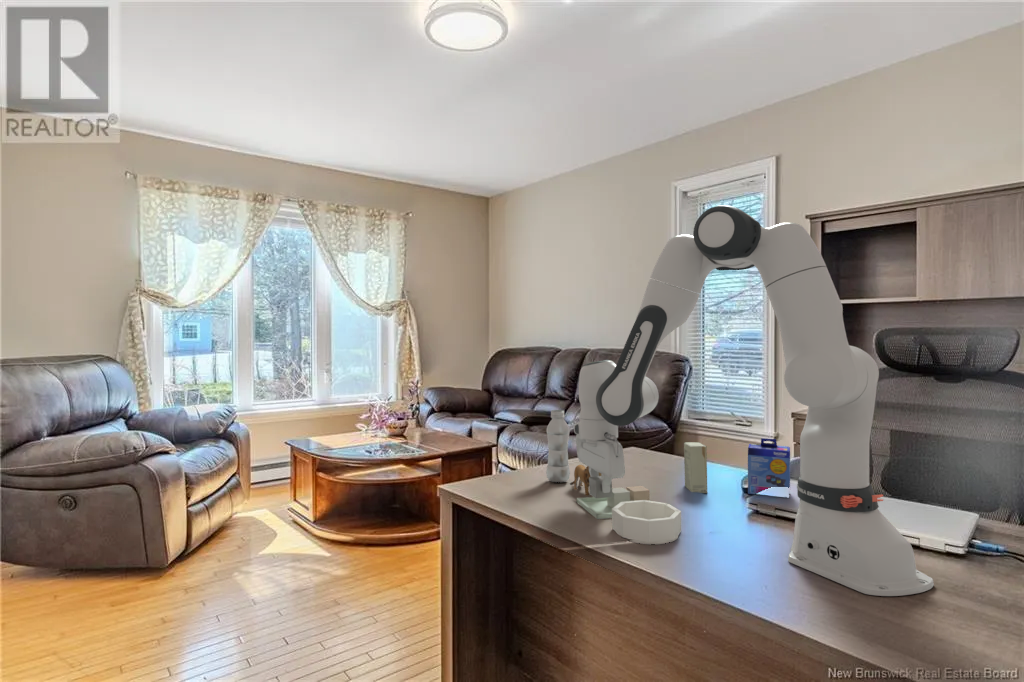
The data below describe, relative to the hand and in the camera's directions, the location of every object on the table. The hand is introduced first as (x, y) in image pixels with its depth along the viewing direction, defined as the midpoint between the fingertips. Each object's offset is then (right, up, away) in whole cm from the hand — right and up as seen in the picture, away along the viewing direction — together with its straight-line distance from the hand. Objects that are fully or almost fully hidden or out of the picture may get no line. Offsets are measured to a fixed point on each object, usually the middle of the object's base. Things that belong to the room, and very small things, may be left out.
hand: (600, 489), depth 132 cm
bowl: (+7, -6, -14) cm, 17 cm away
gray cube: (0, -1, 0) cm, 1 cm away
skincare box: (+28, -5, +17) cm, 33 cm away
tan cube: (+9, -5, +3) cm, 11 cm away
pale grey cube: (+5, -5, +2) cm, 7 cm away
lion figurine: (-1, -5, +16) cm, 16 cm away
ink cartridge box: (+45, -5, +13) cm, 47 cm away
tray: (+5, -5, +2) cm, 7 cm away
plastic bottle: (-8, -5, +27) cm, 28 cm away
